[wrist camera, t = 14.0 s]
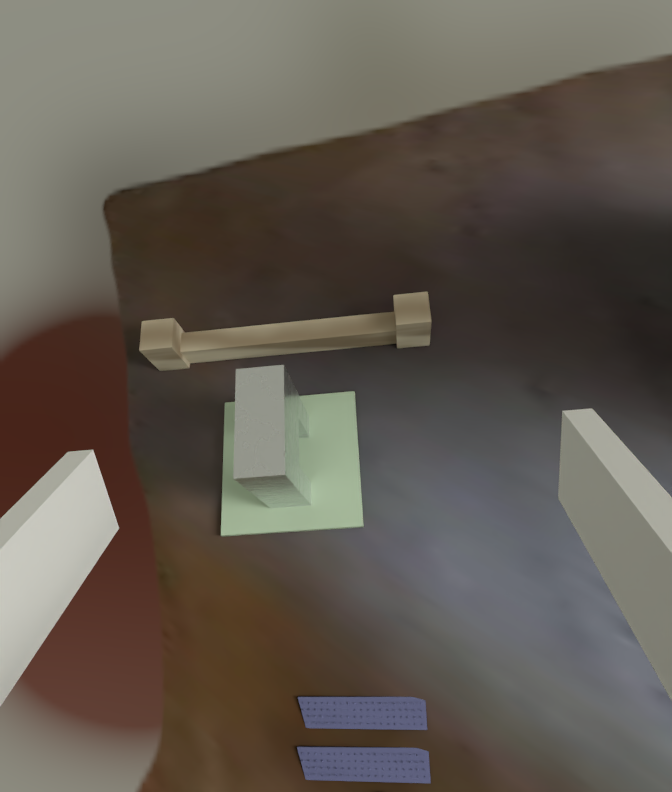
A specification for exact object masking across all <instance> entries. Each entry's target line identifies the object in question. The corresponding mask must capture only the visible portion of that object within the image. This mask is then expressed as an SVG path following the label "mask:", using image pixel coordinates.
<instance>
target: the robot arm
mask: <svg viewBox="0 0 672 792" xmlns="http://www.w3.org/2000/svg"><path fill="white" fill-rule="evenodd" d="M558 498H559V500H560V502H561V504H562V506H563V507H564V509H565V511H566V513H567V515H568V516H569V518H570V520H571V522H572V523H573V525H574V527H575V529H576V531H577V532H578V534H579V536H580V538H581V540H582V541H583V543H584V545H585V547H586V549H587V550H588V552H589V554H590V556H591V557H592V559H593V561H594V563H595V565H596V566H597V568H598V570H599V572H600V574H601V575H602V577H603V579H604V581H605V582H606V584H607V586H608V588H609V590H610V591H611V593H612V595H613V597H614V599H615V600H616V602H617V604H618V606H619V607H620V609H621V611H622V613H623V615H624V616H625V618H626V620H627V622H628V624H629V625H630V627H631V629H632V631H633V632H634V634H635V636H636V638H637V640H638V641H639V643H640V645H641V647H642V649H643V650H644V652H645V654H646V656H647V657H648V659H649V661H650V663H651V665H652V666H653V668H654V670H655V672H656V674H657V675H658V677H659V679H660V681H661V683H662V684H663V686H664V688H665V690H666V691H667V693H668V695H669V697H670V699H671V700H672V497H671V496H670V495H669V494H668V493H667V492H666V491H665V489H664V488H663V487H662V486H661V485H660V484H659V483H658V482H657V480H656V479H655V478H654V477H653V476H652V475H651V474H650V473H649V472H648V470H647V469H646V468H645V467H644V466H643V465H642V464H641V463H640V461H639V460H638V459H637V458H636V457H635V456H634V455H633V454H632V452H631V451H630V450H629V449H628V448H627V447H626V446H625V445H624V444H623V442H622V441H621V440H620V439H619V438H618V437H617V436H616V435H615V433H614V432H613V431H612V430H611V429H610V428H609V427H608V426H607V424H606V423H605V422H604V421H603V420H602V419H601V418H600V417H599V416H598V414H597V413H596V412H595V411H594V410H593V409H592V408H591V409H579V410H567V411H562V430H561V451H560V472H559V494H558ZM118 529H119V527H118V524H117V521H116V518H115V514H114V512H113V508H112V505H111V502H110V499H109V496H108V493H107V490H106V487H105V484H104V481H103V478H102V475H101V472H100V470H99V466H98V463H97V460H96V457H95V454H94V451H93V450H84V451H72V452H67V453H66V454H65V455H64V456H63V457H62V458H61V459H60V460H59V461H58V462H57V463H56V464H55V465H54V466H53V467H52V468H51V469H50V470H49V471H48V472H47V473H46V474H45V475H44V476H43V477H42V478H41V479H40V480H39V481H38V482H37V483H36V484H35V485H34V486H33V487H32V488H31V489H30V490H29V491H28V492H27V493H26V494H25V495H24V496H23V497H22V498H21V499H20V500H19V501H18V502H17V503H16V504H15V505H14V506H13V507H12V508H11V509H10V510H9V511H8V512H7V513H6V514H5V515H4V516H3V517H2V518H1V519H0V706H1V705H2V703H3V702H4V700H5V699H6V697H7V696H8V694H9V693H10V691H11V690H12V688H13V687H14V685H15V684H16V682H17V681H18V679H19V678H20V676H21V675H22V673H23V672H24V670H25V668H26V667H27V666H28V664H29V663H30V661H31V660H32V658H33V657H34V655H35V654H36V652H37V651H38V649H39V648H40V646H41V645H42V643H43V642H44V640H45V639H46V637H47V636H48V634H49V633H50V631H51V629H52V628H53V627H54V625H55V624H56V622H57V621H58V619H59V617H60V616H61V615H62V613H63V612H64V610H65V609H66V607H67V606H68V604H69V603H70V601H71V600H72V598H73V597H74V595H75V594H76V592H77V591H78V589H79V588H80V586H81V585H82V583H83V581H84V580H85V579H86V577H87V575H88V574H89V573H90V571H91V570H92V568H93V567H94V565H95V564H96V562H97V561H98V559H99V558H100V556H101V554H102V553H103V552H104V550H105V549H106V547H107V545H108V544H109V543H110V541H111V540H112V538H113V536H114V535H115V534H116V532H117V531H118Z"/></svg>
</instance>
